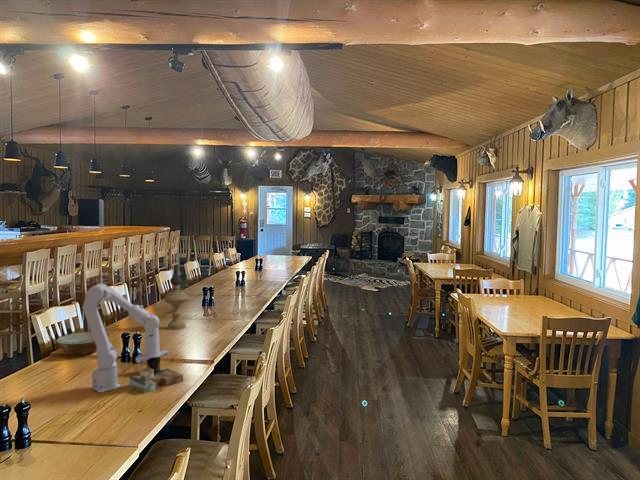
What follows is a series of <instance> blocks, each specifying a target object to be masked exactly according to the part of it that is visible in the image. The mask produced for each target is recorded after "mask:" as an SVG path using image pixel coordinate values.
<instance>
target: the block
mask: <svg viewBox="0 0 640 480" xmlns="http://www.w3.org/2000/svg"><path fill="white" fill-rule="evenodd" d="M139 371H140V372H139V373H140V375H141V379H142V380H144V381H148V380H151V379H153V378H154V369H152V368H150V367H148V368H147V367H145V368H141V369H140V370H139Z"/></svg>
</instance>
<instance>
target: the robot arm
mask: <svg viewBox="0 0 640 480" xmlns="http://www.w3.org/2000/svg"><path fill="white" fill-rule="evenodd" d="M102 301H103V302H113V303H114V304H116V305H117V306H119V307H120V308H122V309H123V310H125V311H127V312H128V316H129V317H131V319H133V320H134V321H136V322H137V323H139V324H141V325H143V329H144V332H145V333H144V339H145V340H144V343H145V349H144V350H145V353H144V354H142V355H139V356H135V363H141V362H144V361H146V364H147V363H148V365H149V367H150V368H152V369H154V375H156V374H157V373H156V368H157V366H158V363H159V362H160V363H161V357H164V356H170V350H169V349H163V350H160V330H159V324H160V318H159V317H158V316H157V314H153V313H152V312H149V311H148V310H146V309H145V308H144V305H139V304H133V303H131V302H130V301H129V300H127V299H126V298H125V297H124V296H123V295H121V293H118V292H117V291H116V290H114V288H112V287H111V286H108V285H107V284H106V283H102V282H99V283H97V284H95V285H94V286H92V287H90V288H89V289H88V290H87V292H86V293H85V297H84V301H83V305H82V310H83V313H84V316H85V319H86V322H87V324H88V327H89V331H90V332H91V333H92V335H93V338H94V341H95V344H96V347H97V350H96V356H97V359H96V364H97V368H96V369H94V370H92V372H91V384H92V385H91V389H93V390H94V391H96V392H97V393H101V394H102V393H104V392H108V391H111V390H114V389H118V388H121V387H122V384H119V382H118V364H117V362H116V361H117V360H118V356H119V354H118V351H117V350H116V348H114V346H113V344H112V343H111V342H110V340H109V336H108V337H107V334H106V333H107V332H106V329H105V326H104V323H103V321H102V318H101V315H100V312H99V309H98V307H99V306H100V304H101V302H102ZM159 357H160V358H159Z"/></svg>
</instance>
